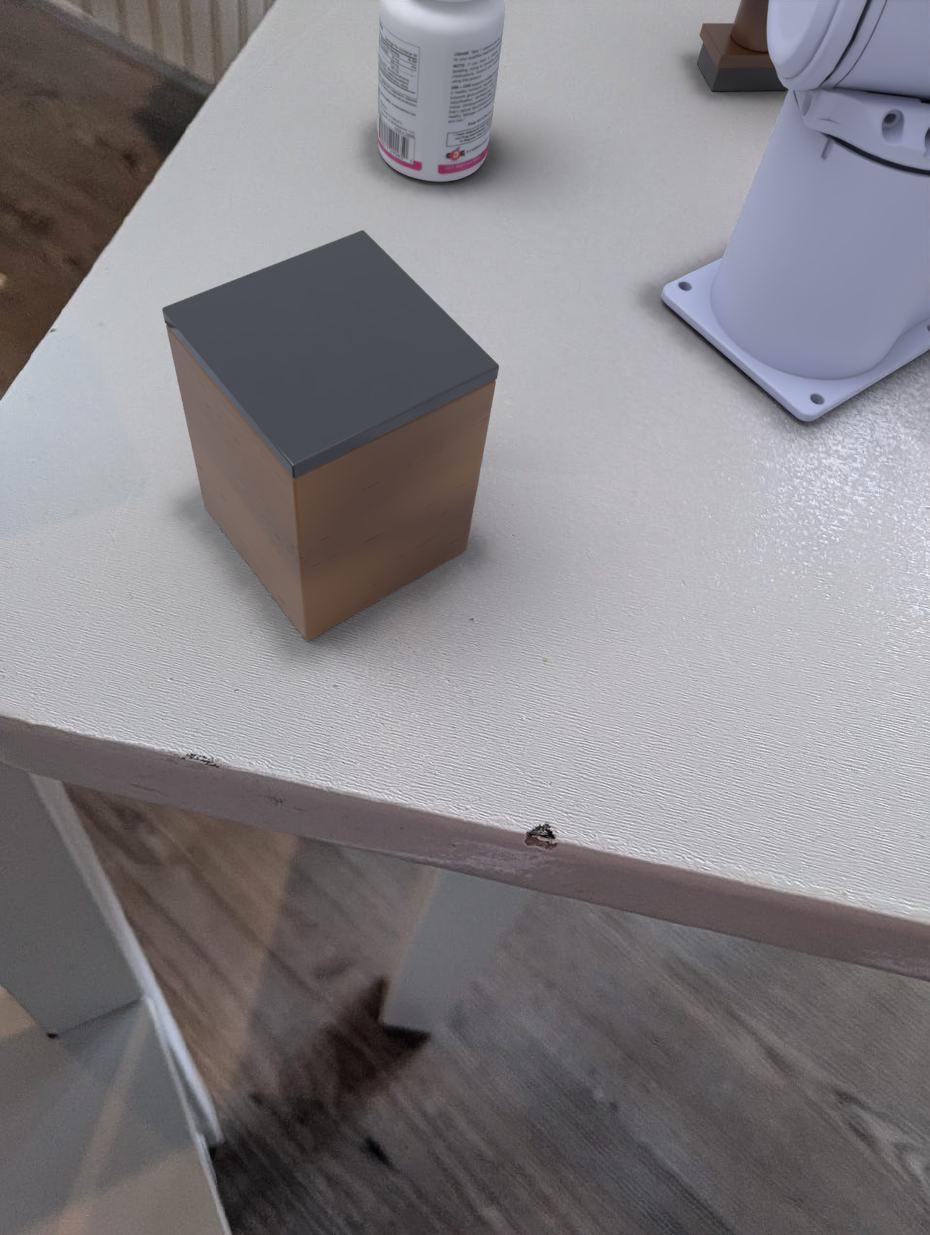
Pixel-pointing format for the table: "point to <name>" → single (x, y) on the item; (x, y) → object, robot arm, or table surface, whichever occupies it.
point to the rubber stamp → (739, 51)
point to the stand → (337, 501)
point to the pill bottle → (437, 84)
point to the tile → (329, 350)
